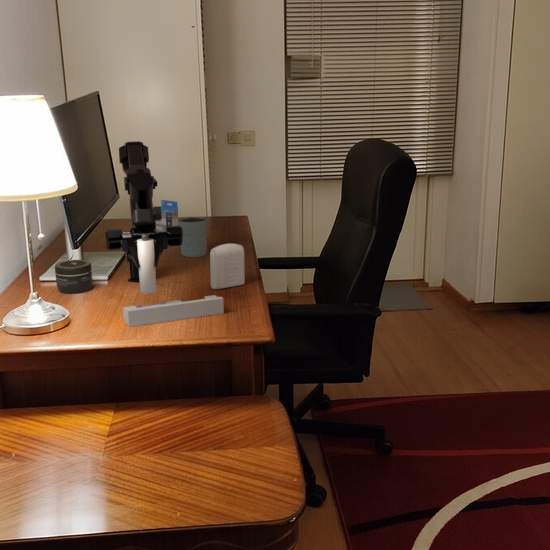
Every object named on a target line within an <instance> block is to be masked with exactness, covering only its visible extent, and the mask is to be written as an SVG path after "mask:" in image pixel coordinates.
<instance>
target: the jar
mask: <svg viewBox="0 0 550 550" xmlns="http://www.w3.org/2000/svg"><path fill="white" fill-rule="evenodd" d="M92 271H93V269H92V263H91V262H90V260H86V259H68V260H64V261H60V262H58V263H55V266H54V273H55V280H56V287H57V290H58V291H59V293H61V294H64V295H76V294H83V293H86V292H89V291H90V290H92V289H91V288H92V286H93V273H92Z"/></svg>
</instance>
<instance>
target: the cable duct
mask: <svg viewBox="0 0 550 550" xmlns="http://www.w3.org/2000/svg"><path fill="white" fill-rule="evenodd" d="M224 311H225V310H224V298H223V297H222V296H217V295H216V294H213V295H206V296H203V298H201V299H195V300H187V301H186V300H185V301H182V300H181V299H175V300H169V301H160V302H159V304H151V305H143V306H142V304H141V305H131V306H123V307H122V312H123V319H124V321H125V323H126V324H127V327H129V328H130V327H131V328H132V327H138V326H144V325H152V324H158V323H159V324H160V323H165V322H172V321H180V320H187V318H188V319H195V318H200V317H201V316H202V317H207V316H208V315H209V316H217V315H221V314H224V313H225V312H224Z"/></svg>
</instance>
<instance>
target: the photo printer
mask: <svg viewBox="0 0 550 550" xmlns="http://www.w3.org/2000/svg"><path fill="white" fill-rule="evenodd" d="M209 262H210V264H209V268H210V269H209V271H210V273H209V274H210V276H209V277H210V286H211V287H210V288H211V289H212V290H220V289H227V288H231V287H237V286H242V285H245V279H246V277H245V249H244V246H243V245H241V244H237V243H224V244H220V245H217V246H214V247H213V248H211V250H210V252H209Z"/></svg>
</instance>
